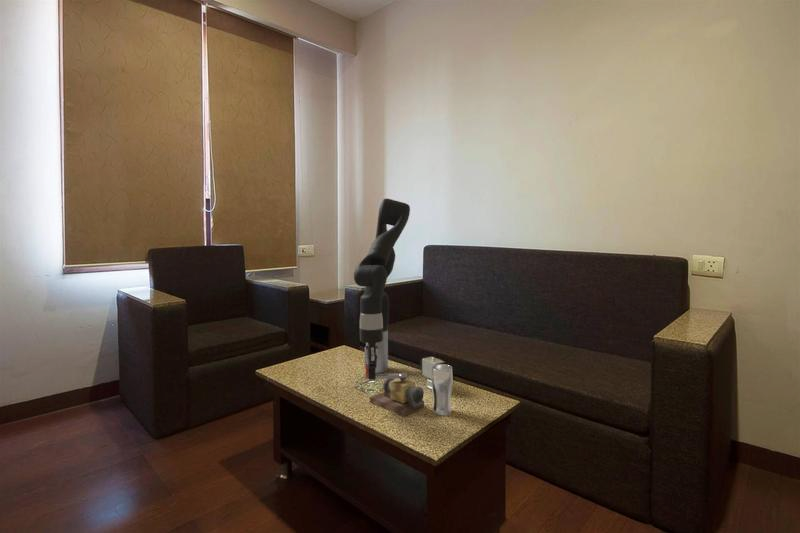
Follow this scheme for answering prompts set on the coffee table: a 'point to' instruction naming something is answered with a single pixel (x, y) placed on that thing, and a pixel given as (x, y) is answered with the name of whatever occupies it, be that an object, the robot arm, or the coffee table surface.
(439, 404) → the beer glass
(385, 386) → the valve pipe
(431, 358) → the pneumatic valve
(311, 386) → the coffee table surface
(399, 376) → the valve lever
